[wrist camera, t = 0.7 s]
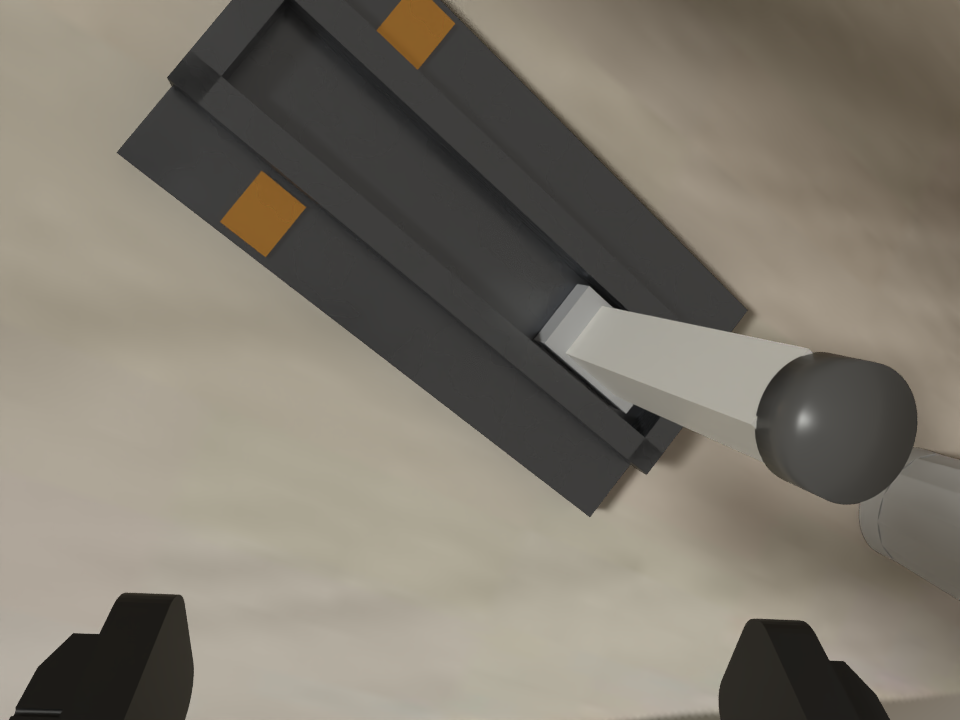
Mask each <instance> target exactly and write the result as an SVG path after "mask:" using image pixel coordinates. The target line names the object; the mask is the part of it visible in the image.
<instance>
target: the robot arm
mask: <svg viewBox="0 0 960 720" xmlns="http://www.w3.org/2000/svg"><path fill="white" fill-rule="evenodd" d="M193 677H194V665H193V657H192V650H191V644H190V637H189V630H188V623H187V616H186V610H185V603H184V599H183V597H182V596H181V595H173V594H147V593H123V594H121V595H120V596H119V597H118V599H117V600H116V602H115V603H114V605H113V607H112V609H111V611H110V613H109V615H108V617H107V619H106V621H105V624H104V626H103V628H102V630H101V632H100V634H78V633H73V634H72V635H71V636H70V637H69V638H68V639H67V640H66V641H65V642H64V643H63V644H62V645H61V646H60V647H58V648H57V649H56V650H55V651H54V652H53V653H52V654H51V655H50V656H49V657H48V658H47V659H46V660H45V661H44V662H43V663H42V664H41V665H40V666H39V667H38V668H37V670H36V671H35V673H34V675H33V677H32V679H31V681H30V682H29V684H28V686H27V688H26V690H25V692H24V693H23V695H22V697H21V699H20V701H19V703H18V704H17V706H16V711H15V714H14V716H11V717H10V719H9V720H185V718H186V714H187V711H188V707H189V703H190V699H191V693H192V687H193ZM719 713H720V719H721V720H890V719H889V717H888V715H887V713H886V712H885V710H884V708H883V706H882V704H881V703H880V701H879V699H878V697H877V695H876V694H875V693H874V692H873V691H872V690H871V689H870V688H869V687H868V686H867V685H866V684H865V683H864V682H863V681H862V679H861V678H860V677H859V676H858V675H857V674H856V673H855V672H854V671H853V670H852V669H851V668H850V667H849V666H848V665H847V664H846V663H845V662H844V661H829V659H828V657H827V655H826V653H825V651H824V649H823V647H822V646H821V644H820V642H819V640H818V638H817V636H816V634H815V632H814V631H813V629H812V628H811V627H810V626H809V625H808V624H807V623H806V622H804V621H800V620H775V619H750V620H749V621H748V622H747V623H746V625H745V627H744V629H743V631H742V634H741V636H740V638H739V641H738V643H737V645H736V648H735V650H734V653H733V655H732V657H731V660H730V662H729V664H728V667H727V669H726V671H725V674H724V676H723V679H722V681H721V684H720V689H719Z"/></svg>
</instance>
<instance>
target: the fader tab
mask: <svg viewBox="0 0 960 720" xmlns="http://www.w3.org/2000/svg"><path fill="white" fill-rule="evenodd" d="M534 340H535V341H536V342H538V343H539V344H540V345H541V346H542V347H543V348H545V349H546V350H547V351H548V352H549V353H550V354H552V355H553V356H554V357H555V358H556V359H557V360H559V361H560V362H561V363H562V364H563V365H564V366H566V367H567V368H568V369H569V370H570V371H571V372H573V373H574V374H575V375H576V376H577V377H578V378H580V379H581V380H582V381H583V382H584V383H585V384H587V385H588V386H589V387H590V388H591V389H592V390H594V391H595V392H596V393H597V394H598V395H600V396H601V397H602V398H603V399H604V400H605V401H607V402H608V403H609V404H610V405H611V406H612V407H614V408H616V409H618V410H620V411H622V412H624V413H627V412H628V411H629V410H630V408H631V407H632V406H633V404H634V405H636V406H639V407H641V408H643V409H645V410H648V411H650V412H652V413H654V414H656V415H659V416H661V417H663V418H665V419H668V420H670V421H672V422H674V423H677V424H679V425H681V426H683V427H685V428H688V429H690V430H692V431H694V432H697V433H699V434H701V435H703V436H706V437H708V438H710V439H712V440H714V441H717V442H719V443H721V444H723V445H726V446H728V447H730V448H732V449H735V450H737V451H739V452H741V453H743V454H746V455H748V456H750V457H752V458H755V459H757V460H759V461H761V462H764V463H765V465H766V466H767V468H768V469H769V470H770V471H771V472H772V473H773V474H775V475H776V476H777V477H779V478H781V479H783V480H785V481H787V482H789V483H791V484H793V485H795V486H797V487H800V488H802V489H804V490H806V491H808V492H810V493H813V494H815V495H817V496H819V497H821V498H823V499H825V500H828V501H830V502H833V503H837V504H856V503H860V502H864V501H866V500H869V499H871V498H873V497H875V496H876V495H878V494H879V493H881V492H882V491H883V490H885V489H886V488H887V487H888V486H889V485H890V484H891V483H892V482H893V481H894V480H895V479H896V478H897V476H898V475H899V474H900V472H901V471H902V469H903V468H904V466H905V464H906V462H907V460H908V458H909V456H910V454H911V451H912V448H913V445H914V442H915V437H916V431H917V410H916V404H915V400H914V397H913V394H912V392H911V389H910V388H909V386H908V384H907V382H906V381H905V380H904V379H903V377H902V376H901V375H900V374H899V373H897V372H896V371H895V370H893V369H892V368H890V367H888V366H886V365H883V364H879V363H875V362H870V361H866V360H861V359H856V358H851V357H846V356H841V355H836V354H832V353H826V352H815V353H813V352H812V351H811V350H810V349H809V348H804V347H799V346H794V345H790V344H785V343H780V342H775V341H770V340H765V339H760V338H756V337H751V336H746V335H741V334H736V333H731V332H726V331H722V330H717V329H712V328H707V327H702V326H697V325H693V324H688V323H683V322H678V321H673V320H668V319H663V318H659V317H654V316H649V315H644V314H639V313H634V312H629V311H625V310H620V309H615V308H613V307H612V306H610V305H609V304H608V303H607V302H606V301H605V300H604V299H603V298H602V297H601V296H600V295H599V294H597V293H596V292H595V291H594V290H593V289H592V288H591V287H590V286H586V285H580V284H577V285H576V286H575V287H574V289H573V290H572V291H571V292H570V294H569V295H568V296H567V298H566V299H565V300H564V301H563V303H562V304H561V305H560V307H559V308H558V309H557V310H556V312H555V313H554V314H553V316H552V317H551V318H550V319H549V321H548V322H547V323H546V325H545V326H544V327H543V328H542V330H541V331H540V332H539V334H538V335H537V336H536V337H535V339H534Z"/></svg>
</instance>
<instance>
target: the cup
mask: <svg viewBox="0 0 960 720" xmlns="http://www.w3.org/2000/svg"><path fill="white" fill-rule="evenodd" d="M859 522H860V527H861V531H862V534H863V536H864V538H865V540H866V542H867V543H868V544H869V546H870V547H871V548H872V549H874V550H875V551H876V552H878V553H880V554H882V555H884V556H886V557H888V558H890V559H892V560H894V561H896V562H897V563H899V564H901V565H902V566H904V567H906V568H907V569H909V570H911V571H912V572H914V573H915V574H917V575H919V576H920V577H922V578H924V579H925V580H927V581H928V582H930V583H932V584H933V585H935V586H937V587H938V588H940V589H941V590H943V591H945V592H946V593H948V594H950V595H951V596H953V597H954V598H956V599H958V600H959V601H960V459H956V458H952V457H948V456H945V455H942V454H938V453H935V452H932V451H929V450H926V449H922V448H912V451H911V454H910V456H909V458H908V460H907V462H906V464H905V466H904V468H903V469H902V471H901V472H900V474H899V475H898V476H897V478H896V479H895V480H894V481H893V482H892V483H891V484H890V485H889V486H888V487H887V488H886V489H885V490H883V491H882V492H881V493H879V494H878V495H876V496H875V497H873V498H871V499H869V500H866V501H864V502H860V507H859Z"/></svg>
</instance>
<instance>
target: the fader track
mask: <svg viewBox="0 0 960 720" xmlns="http://www.w3.org/2000/svg"><path fill="white" fill-rule="evenodd" d="M167 78H168V80H169V82H170V84H171V86H172V87H171V88H170V89H169V91H168V92H167V93H166V94H165V95H164V97H163V98H162V99H161V100H160V101H159V102H158V104H157V105H156V106H155V107H154V108H153V110H152V111H151V112H150V113H149V114H148V116H147V117H146V118H145V119H144V120H143V122H142V123H141V124H140V125H139V126H138V128H137V129H136V130H135V131H134V132H133V134H132V135H131V136H130V137H129V138H128V140H127V141H126V142H125V143H124V144H123V146H122V147H121V148H120V149H119V150H118V152H117V153H118V154H119V155H120V156H122V157H123V158H124V159H126V160H127V161H128V162H129V163H131V164H132V165H133V166H135V167H136V168H137V169H139V170H140V171H141V172H142V173H144V174H145V175H146V176H148V177H149V178H150V179H152V180H153V181H154V182H155V183H157V184H158V185H159V186H161V187H162V188H163V189H165V190H166V191H167V192H168V193H170V194H171V195H172V196H174V197H175V198H176V199H177V200H179V201H180V202H181V203H183V204H184V205H185V206H187V207H188V208H189V209H190V210H192V211H193V212H194V213H196V214H197V215H198V216H200V217H201V218H202V219H203V220H205V221H206V222H207V223H209V224H210V225H211V226H213V227H214V228H215V229H216V230H218V231H219V232H220V233H222V234H223V235H224V236H226V237H227V238H228V239H229V240H231V241H232V242H233V243H235V244H236V245H237V246H239V247H240V248H241V249H242V250H244V251H245V252H246V253H248V254H249V255H250V256H251V257H253V258H254V259H255V260H257V261H258V262H259V263H261V264H262V265H263V266H264V267H266V268H267V269H268V270H270V271H271V272H272V273H274V274H275V275H276V276H277V277H279V278H280V279H281V280H283V281H284V282H285V283H287V284H288V285H289V286H290V287H292V288H293V289H294V290H296V291H297V292H298V293H300V294H301V295H302V296H303V297H305V298H306V299H307V300H309V301H310V302H311V303H313V304H314V305H315V306H316V307H318V308H319V309H320V310H322V311H323V312H324V313H325V314H327V315H328V316H329V317H331V318H332V319H333V320H335V321H336V322H337V323H338V324H340V325H341V326H342V327H344V328H345V329H346V330H348V331H349V332H350V333H351V334H353V335H354V336H355V337H357V338H358V339H359V340H361V341H362V342H363V343H364V344H366V345H367V346H368V347H370V348H371V349H372V350H374V351H375V352H376V353H377V354H379V355H380V356H381V357H383V358H384V359H385V360H387V361H388V362H389V363H390V364H392V365H393V366H394V367H396V368H397V369H398V370H399V371H401V372H402V373H403V374H405V375H406V376H407V377H409V378H410V379H411V380H412V381H414V382H415V383H416V384H418V385H419V386H420V387H422V388H423V389H424V390H425V391H427V392H428V393H429V394H431V395H432V396H433V397H435V398H436V399H437V400H438V401H440V402H441V403H442V404H444V405H445V406H446V407H448V408H449V409H450V410H451V411H453V412H454V413H455V414H457V415H458V416H459V417H461V418H462V419H463V420H464V421H466V422H467V423H468V424H470V425H471V426H472V427H473V428H475V429H476V430H477V431H479V432H480V433H481V434H483V435H484V436H485V437H486V438H488V439H489V440H490V441H492V442H493V443H494V444H496V445H497V446H498V447H499V448H501V449H502V450H503V451H505V452H506V453H507V454H509V455H510V456H511V457H512V458H514V459H515V460H516V461H518V462H519V463H520V464H522V465H523V466H524V467H525V468H527V469H528V470H529V471H531V472H532V473H533V474H535V475H536V476H537V477H538V478H540V479H541V480H542V481H544V482H545V483H546V484H547V485H549V486H550V487H551V488H553V489H554V490H555V491H557V492H558V493H559V494H560V495H562V496H563V497H564V498H566V499H567V500H568V501H570V502H571V503H572V504H573V505H575V506H576V507H577V508H579V509H580V510H581V511H583V512H584V513H585V514H586V515H588V516H589V517H591V515H592V514H593V513H594V511H595V510H596V509H597V507H598V506H599V505H600V503H601V502H602V501H603V499H604V498H605V497H606V496H607V494H608V493H609V492H610V490H611V489H612V488H613V486H614V485H615V484H616V482H617V481H618V480H619V478H620V477H621V476H622V475H623V473H624V472H625V471H626V469H627V468H628V467H629V465H631V466H633V467H634V468H636V469H638V470H639V471H641V472H643V473H644V474H646V475H647V474H648V472H649V471H650V470H651V468H652V467H653V466H654V464H655V463H656V462H657V460H658V459H659V458H660V457H661V455H662V454H663V453H664V451H665V450H666V449H667V447H668V446H669V445H670V443H671V442H672V441H673V439H674V438H675V437H676V435H677V434H678V433H679V431H680V430H681V429H682V428H683V426H681V425H679V424H677V423H674V422H672V421H670V420H668V419H665V418H663V417H661V416H659V415H656V414H654V413H652V412H650V411H648V410H645V409H643V408H641V407H639V406H636V405H634V404H633V406H632V407H631V408H630V410H629V411H628V412H627V413H624V412H622V411H620V410H618V409H616V408H614V407H612V406H611V405H610V404H609V403H608V402H607V401H605V400H604V399H603V398H602V397H601V396H600V395H598V394H597V393H596V392H595V391H594V390H592V389H591V388H590V387H589V386H588V385H587V384H585V383H584V382H583V381H582V380H581V379H580V378H578V377H577V376H576V375H575V374H574V373H573V372H571V371H570V370H569V369H568V368H567V367H566V366H564V365H563V364H562V363H561V362H560V361H559V360H557V359H556V358H555V357H554V356H553V355H552V354H550V353H549V352H548V351H547V350H546V349H545V348H543V347H542V346H541V345H540V344H539V343H538V342H536V341H535V340H534V339H535V337H536V336H537V335H538V334H539V332H540V331H541V330H542V328H543V327H544V326H545V325H546V323H547V322H548V321H549V319H550V318H551V317H552V316H553V314H554V313H555V312H556V310H557V309H558V308H559V307H560V305H561V304H562V303H563V301H564V300H565V299H566V298H567V296H568V295H569V294H570V292H571V291H572V290H573V289H574V287H575V286H576V285H577V284H580V285H586V286H590V287H591V288H592V289H593V290H594V291H595V292H596V293H597V294H599V295H600V296H601V297H602V298H603V299H604V300H605V301H606V302H607V303H608V304H609V305H610V306H612V307H613V308H615V309H620V310H625V311H629V312H634V313H639V314H644V315H649V316H654V317H659V318H663V319H668V320H673V321H678V322H683V323H688V324H693V325H697V326H702V327H707V328H712V329H717V330H722V331H726V332H731V331H732V330H733V329H734V327H735V326H736V325H737V324H738V322H739V321H740V320H741V318H742V317H743V316H744V314H745V313H746V312H747V309H746V308H745V307H744V306H743V305H742V304H741V303H740V302H739V301H738V300H737V299H736V298H735V297H734V296H733V295H732V294H731V293H730V292H729V291H728V290H727V289H726V288H725V287H724V286H723V285H722V284H721V283H720V282H719V281H718V280H717V279H716V278H715V277H714V276H713V275H712V274H711V273H710V272H709V271H708V270H707V269H706V268H705V267H704V266H703V265H702V264H701V263H700V262H699V261H698V260H697V259H696V258H695V257H694V256H693V255H692V254H691V253H690V252H689V251H688V250H687V249H686V248H685V247H684V246H683V245H682V244H681V243H680V242H679V241H678V240H677V239H676V238H675V237H674V236H673V235H672V234H671V233H670V232H669V231H668V229H667V228H666V227H665V226H664V225H663V224H662V223H661V222H660V221H659V220H658V219H657V218H656V217H655V216H654V215H653V214H652V213H651V212H650V211H649V210H648V209H647V208H646V207H645V206H644V205H643V204H642V203H641V202H640V201H639V200H638V199H637V198H636V197H635V196H634V195H633V194H632V193H631V192H630V191H629V190H628V189H627V188H626V187H625V186H624V185H623V184H622V183H621V182H620V181H619V180H618V179H617V178H616V177H615V176H614V175H613V174H612V173H611V172H610V171H609V170H608V169H607V168H606V167H605V166H604V165H603V164H602V163H601V162H600V161H599V160H598V159H597V158H596V157H595V156H594V155H593V154H592V153H591V152H590V151H589V150H588V149H587V148H586V147H585V146H584V145H583V144H582V143H581V142H580V141H579V140H578V139H577V138H576V137H575V136H574V135H573V134H572V133H571V132H570V131H569V130H568V129H567V128H566V127H565V126H564V125H563V124H562V123H561V122H560V120H559V119H558V118H557V117H556V116H555V115H554V114H553V113H552V112H551V111H550V110H549V109H548V108H547V107H546V106H545V105H544V104H543V103H542V102H541V101H540V100H539V99H538V98H537V97H536V96H535V95H534V94H533V93H532V92H531V91H530V90H529V89H528V88H527V87H526V86H525V85H524V84H523V83H522V82H521V81H520V80H519V79H518V78H517V77H516V76H515V75H514V74H513V73H512V72H511V71H510V70H509V69H508V68H507V67H506V66H505V65H504V64H503V63H502V62H501V61H500V60H499V59H498V58H497V57H496V56H495V55H494V54H493V53H492V52H491V51H490V50H489V49H488V48H487V47H486V46H485V45H484V44H483V43H482V42H481V41H480V40H479V39H478V38H477V37H476V36H475V35H474V34H473V33H472V32H471V31H470V30H469V29H468V28H467V27H466V26H465V25H464V24H463V23H462V22H461V21H460V20H459V19H458V18H457V17H456V16H455V15H454V14H453V12H452V11H451V10H450V9H449V8H448V7H447V6H446V5H445V4H444V3H443V2H442V1H441V0H232V1H231V2H230V3H229V4H228V5H227V7H226V8H225V9H224V10H223V11H222V13H221V14H220V15H219V16H218V17H217V19H216V20H215V21H214V22H213V23H212V25H211V26H210V27H209V28H208V29H207V31H206V32H205V33H204V34H203V35H202V37H201V38H200V39H199V40H198V41H197V43H196V44H195V45H194V46H193V47H192V49H191V50H190V51H189V52H188V53H187V55H186V56H185V57H184V58H183V59H182V61H181V62H180V63H179V64H178V65H177V67H176V68H175V69H174V70H173V71H172V73H171V74H170V75H169V76H168V77H167Z"/></svg>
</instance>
